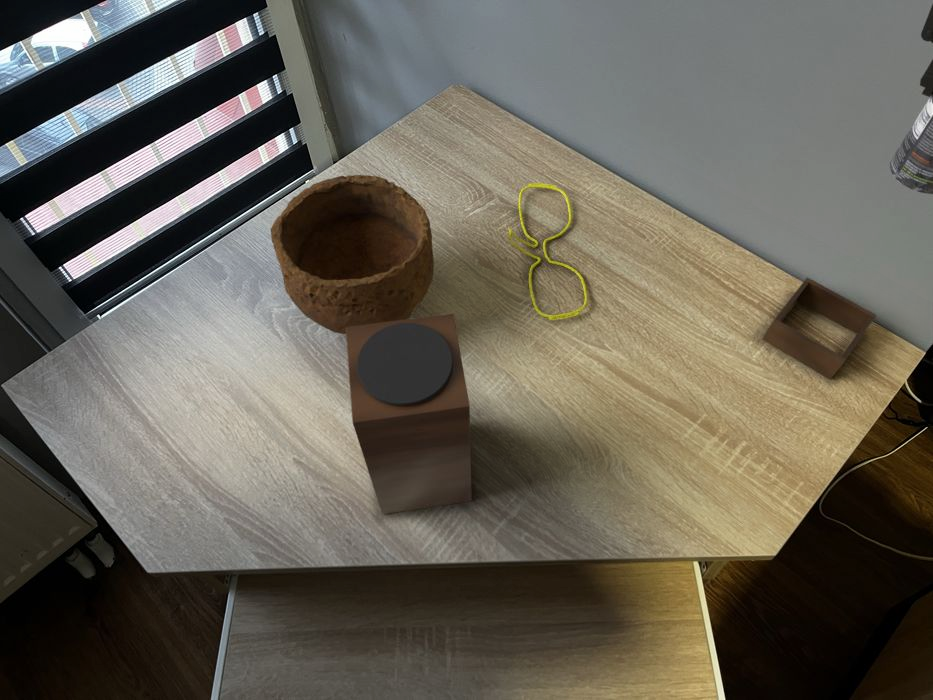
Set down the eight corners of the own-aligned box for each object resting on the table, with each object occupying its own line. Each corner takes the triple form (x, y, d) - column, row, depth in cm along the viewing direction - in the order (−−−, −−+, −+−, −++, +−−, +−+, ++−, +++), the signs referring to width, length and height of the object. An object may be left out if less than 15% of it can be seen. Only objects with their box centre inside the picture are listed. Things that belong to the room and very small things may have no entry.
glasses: (591, 322, 91) (596, 300, 87) (515, 327, 91) (517, 304, 87) (565, 187, 104) (568, 162, 100) (499, 190, 104) (500, 166, 100)
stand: (471, 501, 78) (469, 406, 59) (382, 514, 77) (352, 422, 59) (458, 422, 83) (453, 312, 65) (375, 434, 82) (345, 326, 64)
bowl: (318, 243, 99) (295, 162, 87) (448, 258, 97) (444, 177, 85) (278, 353, 89) (245, 279, 76) (422, 371, 87) (413, 299, 75)
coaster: (459, 399, 60) (458, 395, 59) (361, 413, 59) (360, 409, 59) (445, 320, 64) (445, 316, 64) (354, 332, 64) (353, 329, 63)
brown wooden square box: (861, 333, 89) (876, 314, 86) (829, 379, 86) (844, 362, 82) (795, 296, 93) (807, 277, 89) (761, 339, 89) (772, 321, 86)
